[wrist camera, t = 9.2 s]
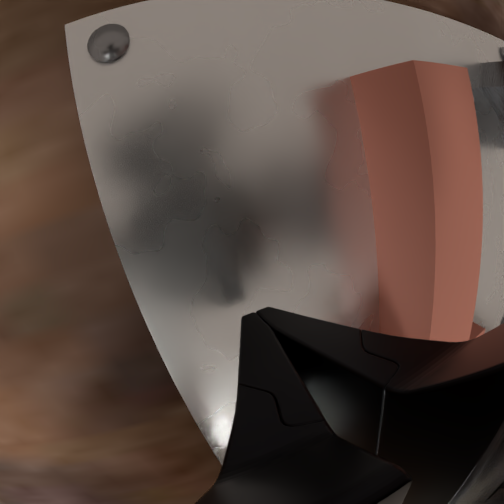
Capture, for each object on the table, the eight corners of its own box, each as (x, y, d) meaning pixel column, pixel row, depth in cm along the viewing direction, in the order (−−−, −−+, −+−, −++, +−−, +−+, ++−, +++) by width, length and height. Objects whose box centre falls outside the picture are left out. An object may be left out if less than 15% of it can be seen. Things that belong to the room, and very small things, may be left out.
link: (430, 383, 16) (462, 408, 13) (353, 434, 15) (383, 468, 12) (429, 77, 10) (486, 71, 7) (312, 78, 9) (373, 57, 6)
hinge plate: (506, 323, 20) (510, 326, 19) (241, 493, 14) (244, 499, 13) (503, 42, 12) (508, 41, 11) (66, 28, 6) (63, 22, 6)
